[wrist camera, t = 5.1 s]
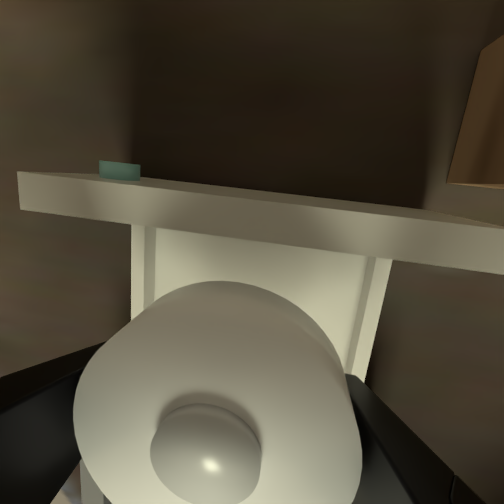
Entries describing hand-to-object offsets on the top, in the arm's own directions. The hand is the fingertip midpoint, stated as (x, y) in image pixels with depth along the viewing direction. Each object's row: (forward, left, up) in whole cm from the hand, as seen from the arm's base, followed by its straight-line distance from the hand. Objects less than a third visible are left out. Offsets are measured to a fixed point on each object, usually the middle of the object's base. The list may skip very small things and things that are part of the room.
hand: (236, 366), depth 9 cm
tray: (0, +1, -4) cm, 5 cm away
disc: (0, 0, +1) cm, 1 cm away
